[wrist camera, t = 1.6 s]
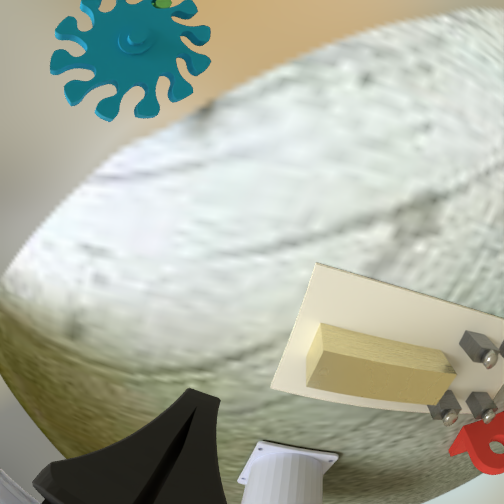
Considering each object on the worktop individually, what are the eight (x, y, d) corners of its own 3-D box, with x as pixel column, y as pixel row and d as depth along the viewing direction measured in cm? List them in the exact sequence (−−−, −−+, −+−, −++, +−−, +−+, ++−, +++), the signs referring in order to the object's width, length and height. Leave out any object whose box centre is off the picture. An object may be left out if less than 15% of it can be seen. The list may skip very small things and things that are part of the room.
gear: (191, 138, 15) (19, 101, 8) (158, 146, 19) (33, 121, 13) (239, -1, 13) (107, -48, 7) (199, 29, 18) (92, -4, 11)
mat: (481, 410, 18) (482, 413, 17) (270, 384, 20) (270, 387, 19) (532, 327, 15) (534, 329, 14) (315, 262, 17) (316, 264, 16)
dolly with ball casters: (480, 401, 17) (493, 423, 14) (424, 398, 18) (435, 426, 14) (517, 342, 15) (536, 360, 12) (465, 330, 16) (486, 353, 13)
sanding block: (422, 379, 17) (435, 405, 14) (306, 356, 18) (306, 386, 15) (440, 349, 16) (457, 374, 13) (320, 322, 17) (323, 350, 14)
